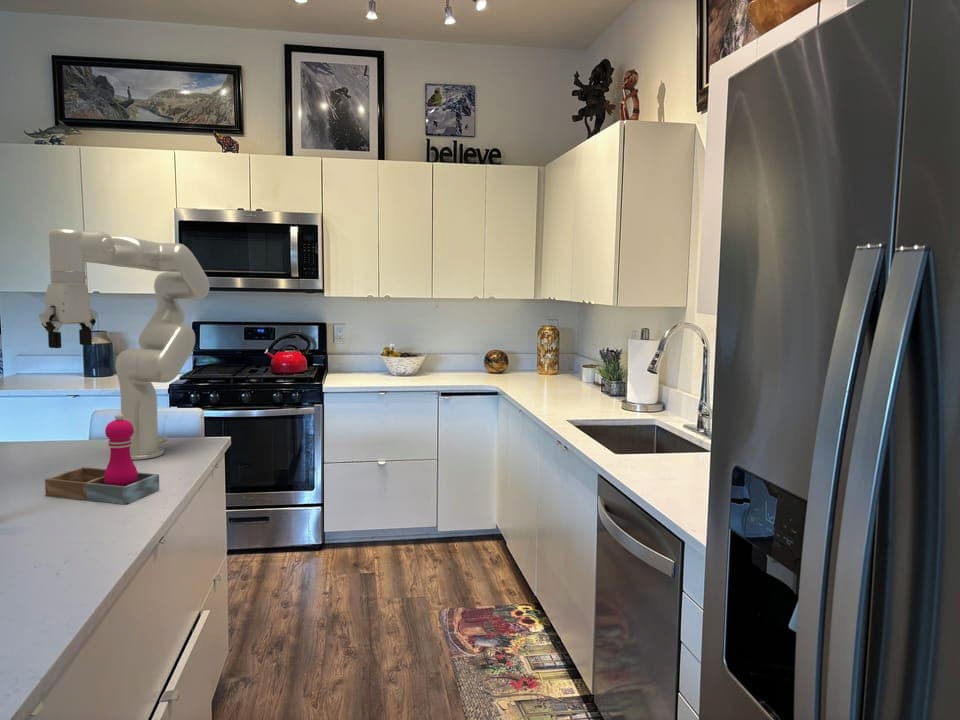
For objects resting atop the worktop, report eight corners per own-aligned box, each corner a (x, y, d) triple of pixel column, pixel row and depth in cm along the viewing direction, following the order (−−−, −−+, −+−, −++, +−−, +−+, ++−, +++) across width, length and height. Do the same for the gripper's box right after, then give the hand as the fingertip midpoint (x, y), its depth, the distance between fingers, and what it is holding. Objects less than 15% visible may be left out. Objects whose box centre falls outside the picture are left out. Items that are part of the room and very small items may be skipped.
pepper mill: (124, 501, 156) (121, 417, 154) (97, 498, 157) (94, 415, 155) (145, 491, 163) (142, 411, 161) (119, 489, 164) (116, 409, 162)
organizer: (83, 482, 169) (82, 467, 169) (159, 490, 165) (159, 474, 164) (45, 495, 158) (44, 479, 158) (126, 504, 154) (125, 487, 153)
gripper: (82, 279, 177) (84, 343, 179) (26, 277, 160) (29, 348, 162) (106, 279, 175) (108, 344, 177) (52, 278, 159) (55, 349, 161)
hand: (70, 346), depth 170 cm, fingers open, 9 cm apart
